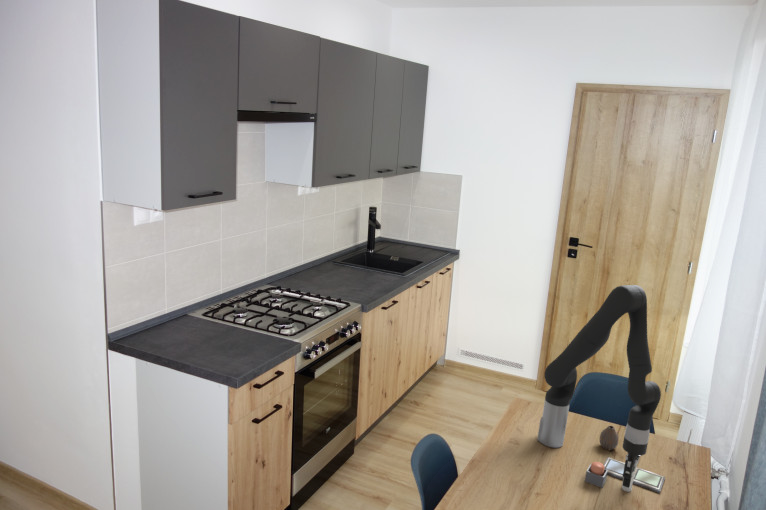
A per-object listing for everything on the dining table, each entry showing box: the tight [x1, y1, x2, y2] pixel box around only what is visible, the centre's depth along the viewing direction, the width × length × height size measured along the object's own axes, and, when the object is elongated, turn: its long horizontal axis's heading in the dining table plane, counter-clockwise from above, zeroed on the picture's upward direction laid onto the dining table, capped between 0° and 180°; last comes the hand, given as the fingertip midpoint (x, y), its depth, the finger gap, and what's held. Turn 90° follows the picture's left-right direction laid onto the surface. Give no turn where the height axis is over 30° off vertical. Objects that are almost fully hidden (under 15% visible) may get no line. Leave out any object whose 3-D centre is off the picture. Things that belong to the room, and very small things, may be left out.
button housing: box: [584, 463, 608, 489], centre depth 212 cm, size 6×6×4 cm
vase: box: [599, 425, 620, 451], centre depth 235 cm, size 7×7×9 cm
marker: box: [621, 464, 638, 493], centre depth 208 cm, size 4×4×11 cm
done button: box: [590, 461, 605, 476], centre depth 212 cm, size 4×4×3 cm
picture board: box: [603, 456, 666, 494], centre depth 218 cm, size 20×11×1 cm, turn 57°
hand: (628, 480), depth 208 cm, fingers open, 8 cm apart
